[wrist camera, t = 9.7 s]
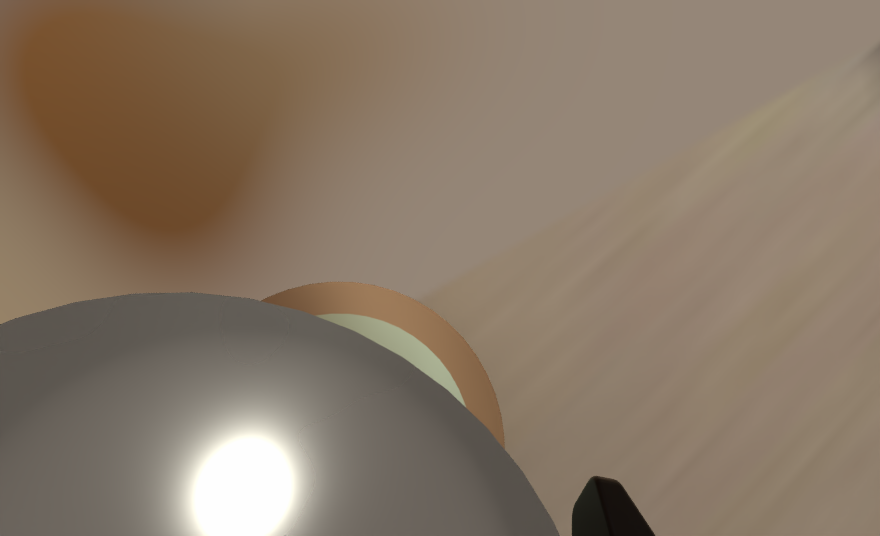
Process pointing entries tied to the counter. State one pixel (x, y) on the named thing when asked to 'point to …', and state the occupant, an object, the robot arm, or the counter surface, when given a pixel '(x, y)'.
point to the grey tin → (237, 429)
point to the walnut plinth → (404, 338)
